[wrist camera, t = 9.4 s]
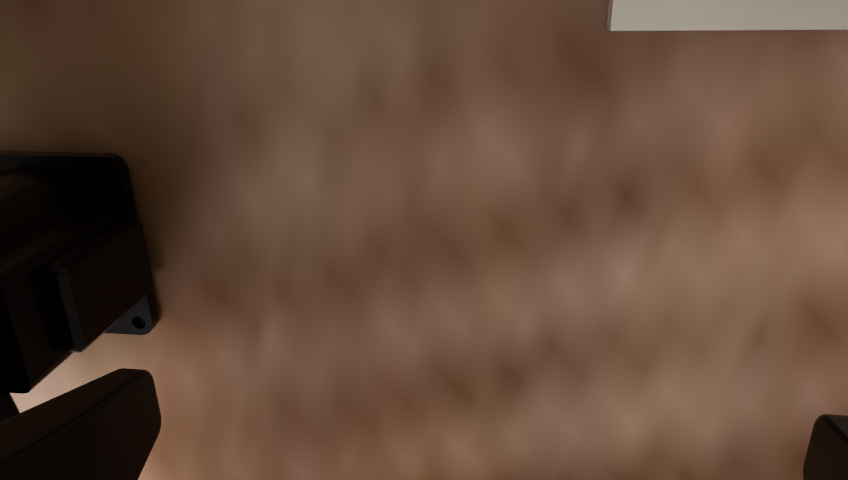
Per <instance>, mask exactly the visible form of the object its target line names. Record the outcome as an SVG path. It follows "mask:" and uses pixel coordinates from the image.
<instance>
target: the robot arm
mask: <svg viewBox="0 0 848 480" xmlns="http://www.w3.org/2000/svg"><path fill="white" fill-rule="evenodd" d="M107 165H109V166H110V167H112V168H113V170H114V176H113V175H111V174H110V173H109V172H108V171H107V168H106V167H107ZM153 286H154V285H153V279H152V274H151V269H150V264H149V259H148V254H147V249H146V244H145V239H144V234H143V228H142V223H141V221H140V220H139V219H138V216H137V211H136V205H135V200H134V195H133V190H132V185H131V180H130V175H129V170H128V167H127V164H126V162H125V161H124V160H123V159H122V158H121V157H119V156H118V155H115V154H109V153H57V152H6V151H0V480H138V478H139V476H140V474H141V471H142V469H143V467H144V465H145V463H146V461H147V458H148V456H149V454H150V452H151V450H152V448H153V445H154V443H155V441H156V439H157V437H158V434H159V431H160V428H161V413H160V409H159V404H158V399H157V394H156V390H155V385H154V380H153V377H152V375H151V374H150V373H149V372H148V371H146V370H140V369H124V368H123V369H118V370H116V371H113V372H111V373H109V374H107V375H104V376H102V377H100V378H98V379H96V380H93V381H91V382H89V383H87V384H84V385H82V386H80V387H78V388H75V389H73V390H71V391H69V392H67V393H64V394H62V395H60V396H58V397H55V398H53V399H51V400H49V401H47V402H44V403H42V404H40V405H38V406H35V407H33V408H31V409H29V410H26V411H24V412H22V413H20V412H19V410H18V408H17V406H16V404H15V402H14V400H13V398H12V397H11V395H10V393H28V392H29V391H30V390H31V389H33V388H34V387H35V386H36V385H37V384H38V383H39V382H41V381H42V380H43V379H44V378H45V377H46V376H47V375H49V374H50V373H51V372H52V371H53V370H54V369H55V368H57V367H58V366H59V365H60V364H61V363H62V362H63V361H64V360H66V359H67V358H68V357H69V356H70V355H71V354H72V353H74V352H82V351H84V350H85V349H86V348H87V347H88V346H90V345H91V344H92V343H93V342H94V341H95V340H96V339H97V338H98V337H100V336H101V335H102V334H103V333H117V334H135V335H144V334H147V333H149V332H150V331H151V330H152V329H153V328H154V327H155V326H156V324H157V323H158V316H157V311H156V306H155V301H154V296H153V291H152V288H153ZM138 316H139V317H141V318H143V319H144V321H145V323H143V322H141V321H140V320H139V318H138ZM803 479H804V480H848V416H845V415H830V414H823V415H821V416H819V417H818V418H817V420H816V421H815V423H814V426H813V430H812V434H811V438H810V442H809V446H808V449H807V453H806V457H805V461H804V466H803Z"/></svg>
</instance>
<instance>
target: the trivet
mask: <svg viewBox="0 0 848 480" xmlns="http://www.w3.org/2000/svg"><path fill="white" fill-rule="evenodd" d="M607 29H609V30H610V31H685V30H848V0H609V7H608V19H607Z"/></svg>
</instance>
